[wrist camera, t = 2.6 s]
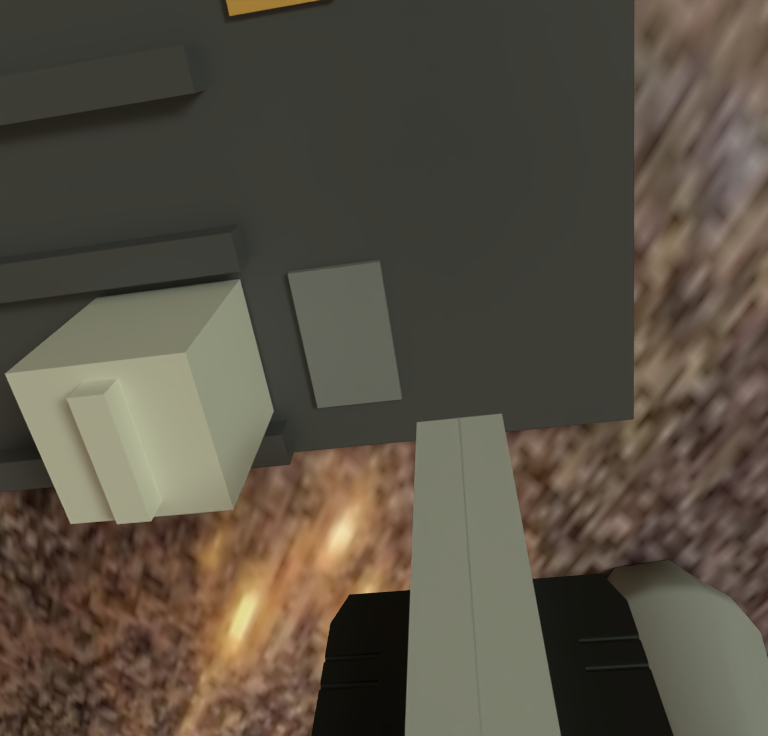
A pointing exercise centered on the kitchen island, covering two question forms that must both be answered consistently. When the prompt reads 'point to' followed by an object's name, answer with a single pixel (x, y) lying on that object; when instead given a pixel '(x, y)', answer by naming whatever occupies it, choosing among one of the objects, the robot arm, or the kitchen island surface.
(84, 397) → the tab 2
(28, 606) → the kitchen island surface
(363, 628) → the robot arm
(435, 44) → the switch bank
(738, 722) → the salt shaker
